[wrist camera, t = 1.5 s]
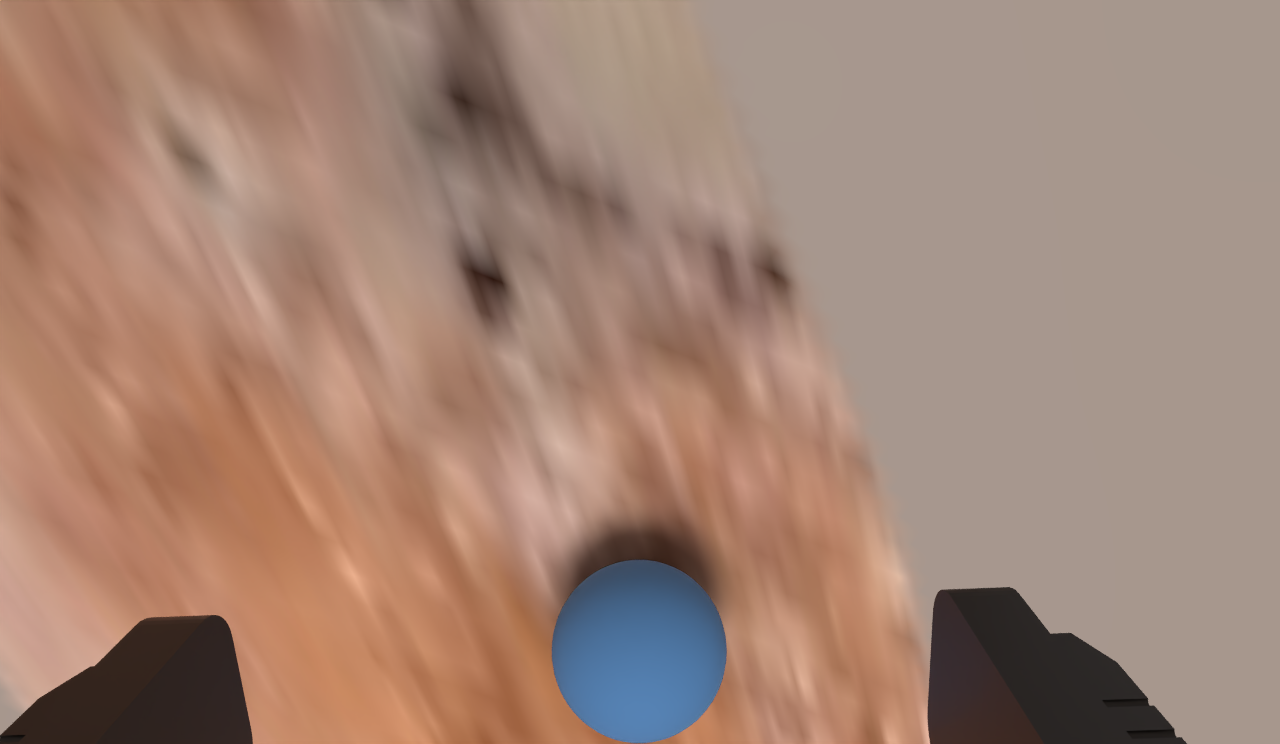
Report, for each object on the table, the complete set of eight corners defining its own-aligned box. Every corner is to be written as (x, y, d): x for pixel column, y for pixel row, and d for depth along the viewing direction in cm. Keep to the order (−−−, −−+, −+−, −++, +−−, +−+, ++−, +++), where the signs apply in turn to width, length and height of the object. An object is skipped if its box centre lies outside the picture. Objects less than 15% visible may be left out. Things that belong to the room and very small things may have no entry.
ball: (554, 533, 27) (534, 624, 22) (716, 526, 27) (732, 616, 22) (567, 673, 28) (550, 788, 23) (721, 667, 28) (737, 780, 23)
